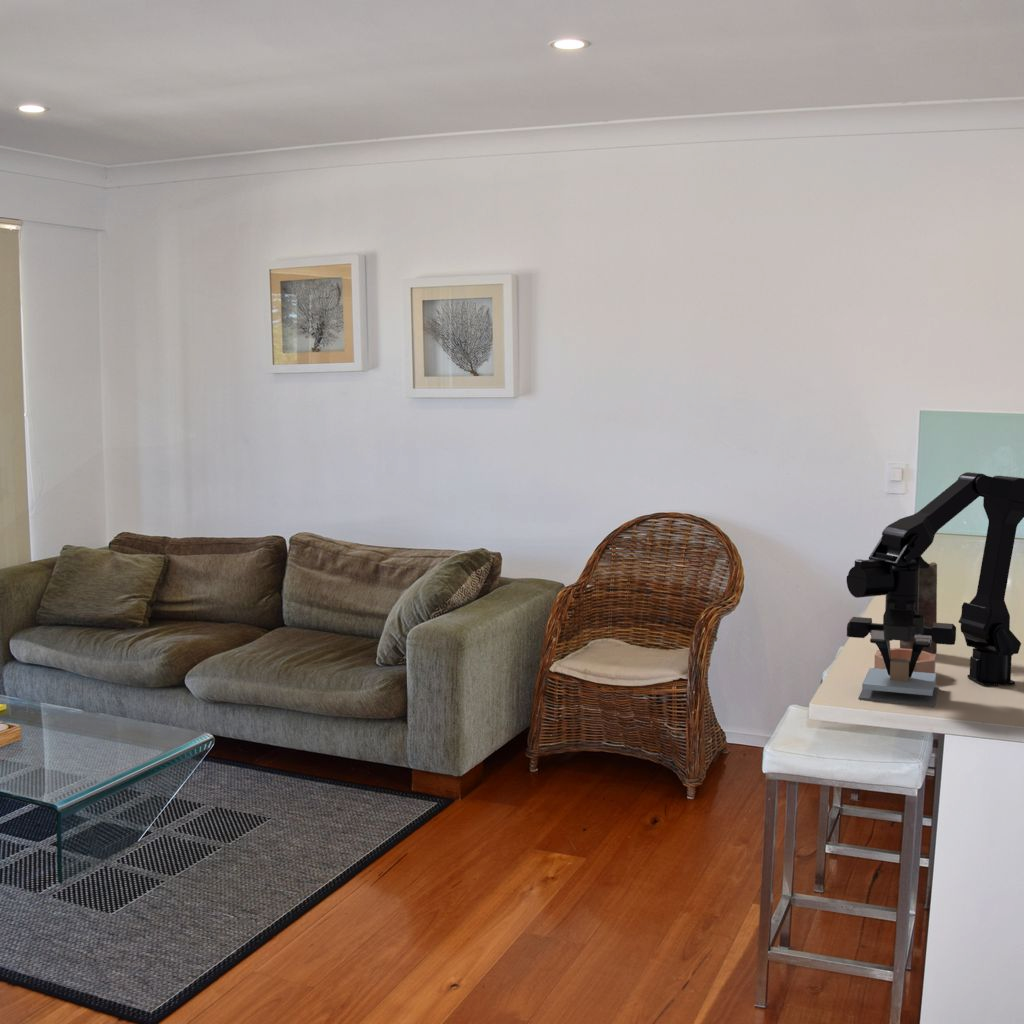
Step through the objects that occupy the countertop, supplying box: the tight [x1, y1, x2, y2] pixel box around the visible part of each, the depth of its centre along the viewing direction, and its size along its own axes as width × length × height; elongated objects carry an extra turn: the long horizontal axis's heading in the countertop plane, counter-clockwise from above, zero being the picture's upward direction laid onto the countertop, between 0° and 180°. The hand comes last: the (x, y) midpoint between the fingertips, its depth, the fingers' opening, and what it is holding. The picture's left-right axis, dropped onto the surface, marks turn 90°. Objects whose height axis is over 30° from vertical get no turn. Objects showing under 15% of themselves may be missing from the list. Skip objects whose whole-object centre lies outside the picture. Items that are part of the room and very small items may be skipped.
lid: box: [861, 657, 937, 696], centre depth 206 cm, size 12×12×4 cm
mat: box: [858, 685, 939, 708], centre depth 206 cm, size 13×13×1 cm
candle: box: [899, 561, 938, 655], centre depth 234 cm, size 8×7×20 cm
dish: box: [874, 647, 937, 674], centre depth 219 cm, size 11×11×4 cm
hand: (899, 676), depth 206 cm, fingers closed on lid, 3 cm apart
